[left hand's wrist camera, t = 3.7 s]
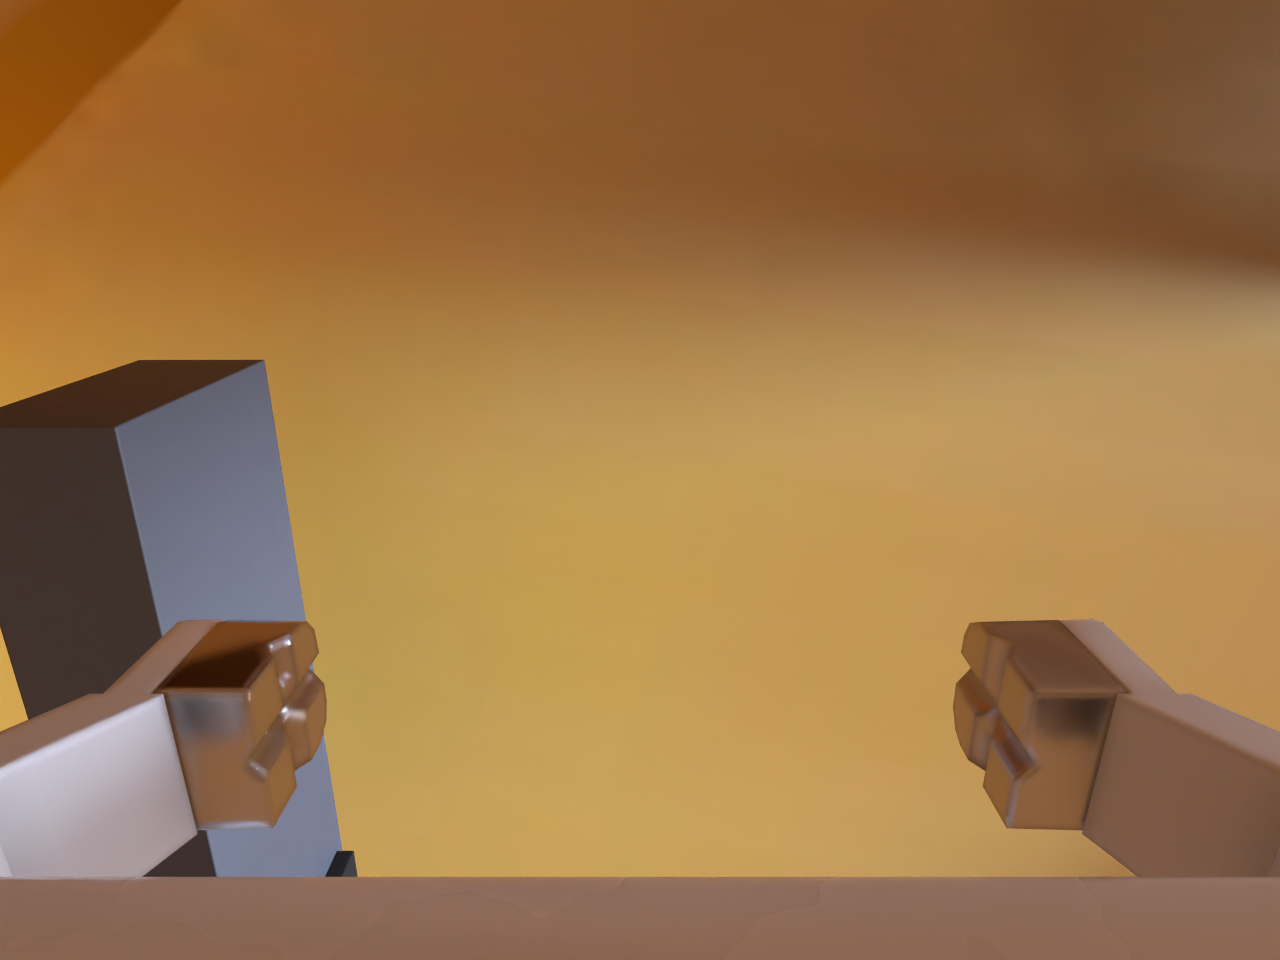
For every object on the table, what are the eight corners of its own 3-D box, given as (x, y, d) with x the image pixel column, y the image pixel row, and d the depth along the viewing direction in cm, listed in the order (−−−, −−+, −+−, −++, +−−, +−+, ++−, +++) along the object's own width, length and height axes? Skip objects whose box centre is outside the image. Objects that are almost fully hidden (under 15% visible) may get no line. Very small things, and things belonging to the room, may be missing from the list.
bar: (138, 359, 29) (-62, 427, 21) (264, 359, 29) (115, 427, 21) (257, 920, 38) (150, 1124, 30) (353, 920, 38) (273, 1124, 30)
